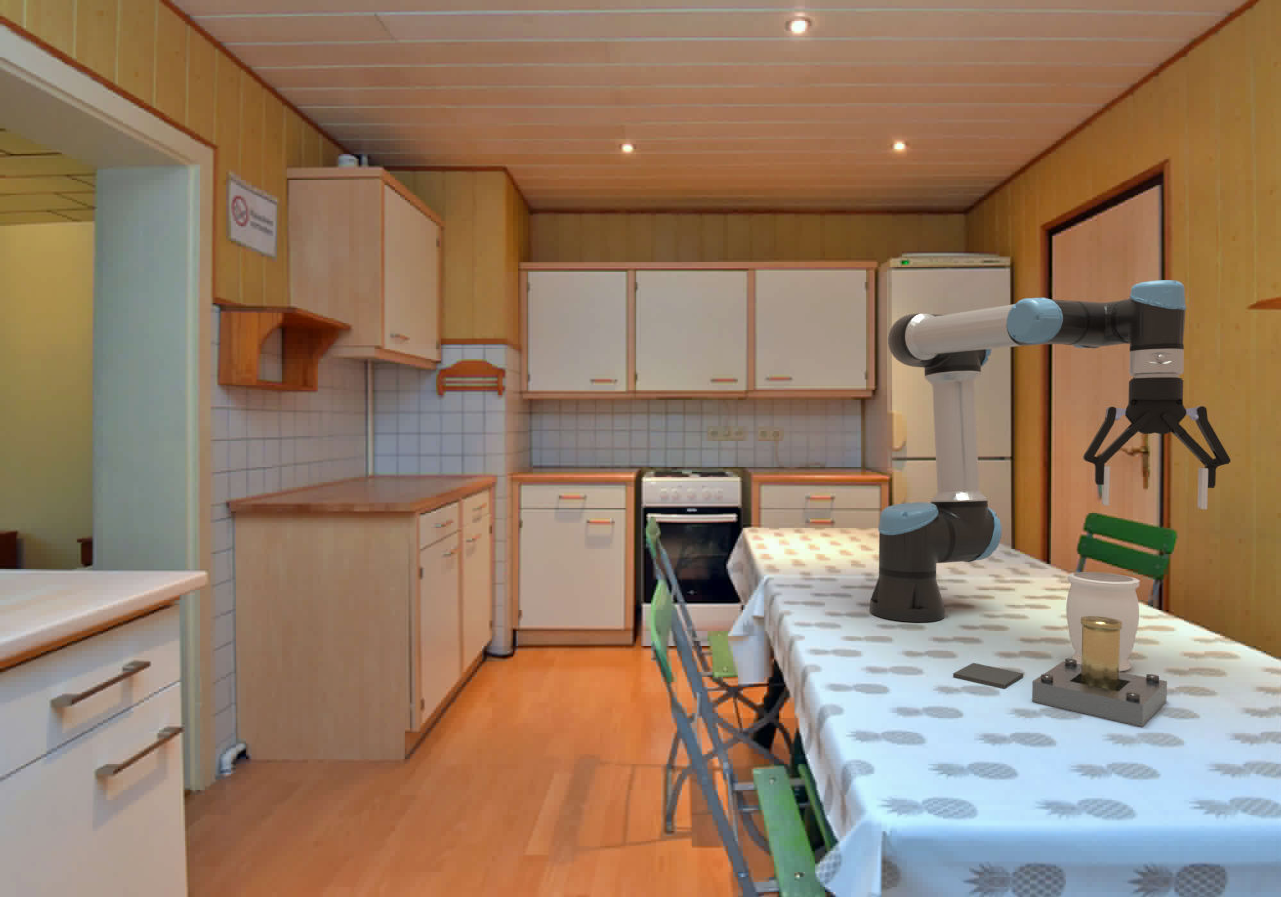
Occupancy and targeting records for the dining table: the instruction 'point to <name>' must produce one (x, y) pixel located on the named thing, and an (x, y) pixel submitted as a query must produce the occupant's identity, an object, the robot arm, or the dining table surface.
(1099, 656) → the brass-coloured knob
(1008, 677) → the mat
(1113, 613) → the jar
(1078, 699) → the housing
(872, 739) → the dining table surface
